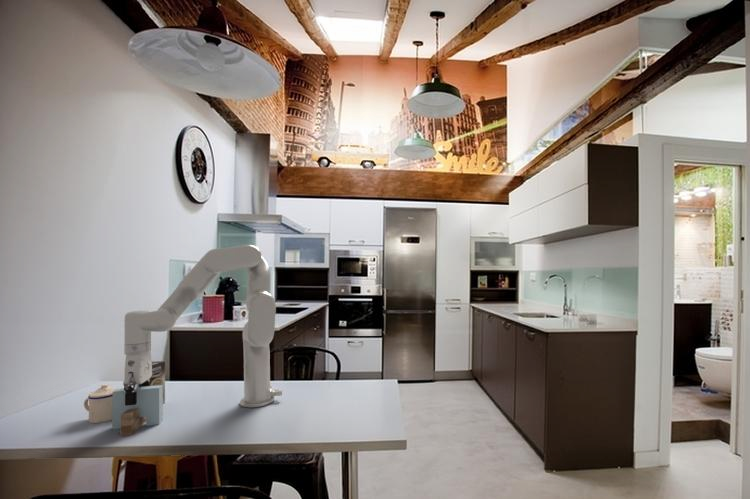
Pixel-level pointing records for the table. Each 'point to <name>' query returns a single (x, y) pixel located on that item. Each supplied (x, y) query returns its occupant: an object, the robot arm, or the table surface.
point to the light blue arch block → (139, 405)
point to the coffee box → (158, 375)
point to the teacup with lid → (100, 404)
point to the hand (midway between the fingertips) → (137, 399)
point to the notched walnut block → (131, 421)
